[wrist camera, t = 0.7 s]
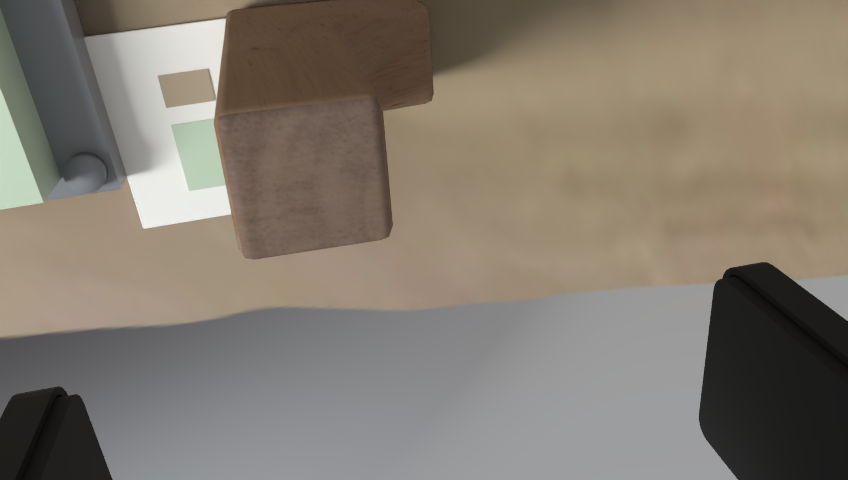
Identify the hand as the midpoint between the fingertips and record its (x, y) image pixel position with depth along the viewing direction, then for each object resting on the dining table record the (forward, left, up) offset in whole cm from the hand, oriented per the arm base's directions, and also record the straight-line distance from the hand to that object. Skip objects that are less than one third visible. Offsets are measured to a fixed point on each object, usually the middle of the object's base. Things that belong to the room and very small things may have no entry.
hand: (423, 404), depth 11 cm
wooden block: (0, 0, -29) cm, 29 cm away
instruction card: (+7, +3, -29) cm, 30 cm away
